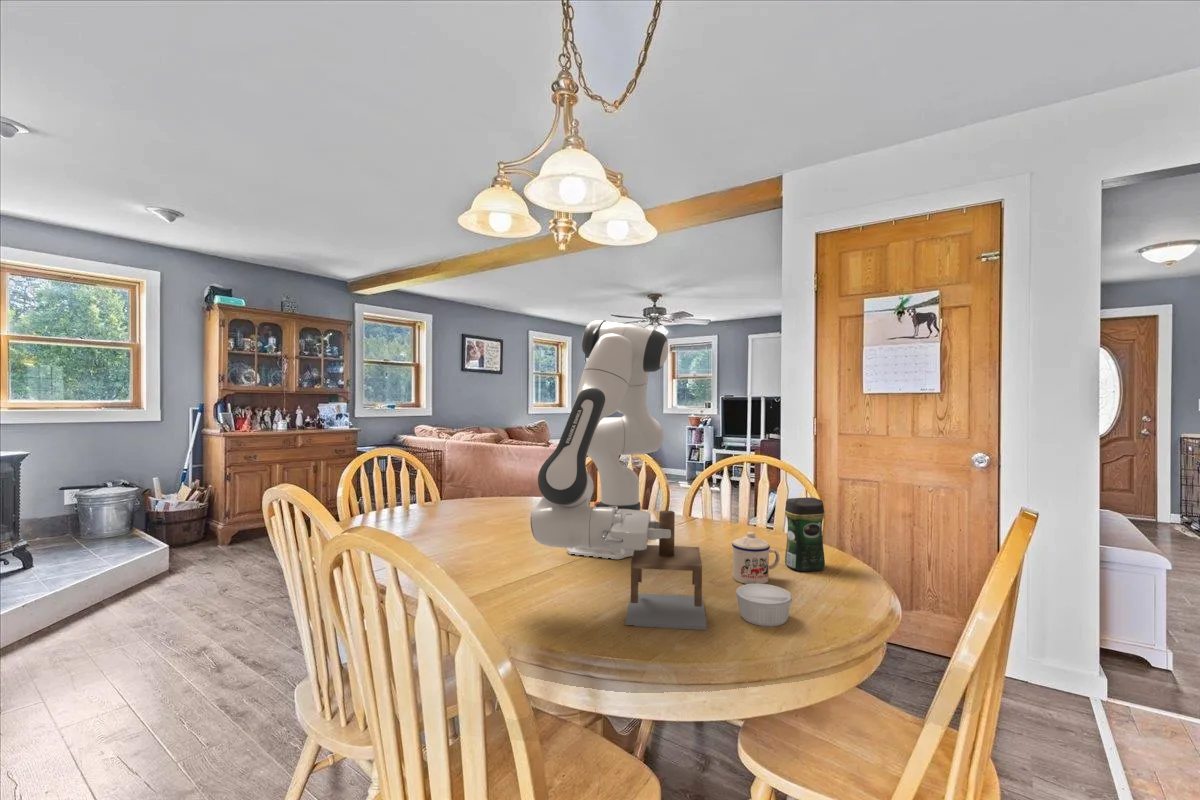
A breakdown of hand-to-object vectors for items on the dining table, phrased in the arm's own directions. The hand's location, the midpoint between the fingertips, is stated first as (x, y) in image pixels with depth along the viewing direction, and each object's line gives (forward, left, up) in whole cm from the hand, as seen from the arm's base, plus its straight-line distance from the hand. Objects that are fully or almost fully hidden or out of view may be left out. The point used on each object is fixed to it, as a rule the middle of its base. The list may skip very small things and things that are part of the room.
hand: (671, 530), depth 117 cm
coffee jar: (+35, +35, -18) cm, 53 cm away
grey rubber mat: (-1, 0, -17) cm, 17 cm away
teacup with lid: (+21, +24, -18) cm, 36 cm away
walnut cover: (-1, 0, -13) cm, 13 cm away
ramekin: (+19, 0, -18) cm, 26 cm away
